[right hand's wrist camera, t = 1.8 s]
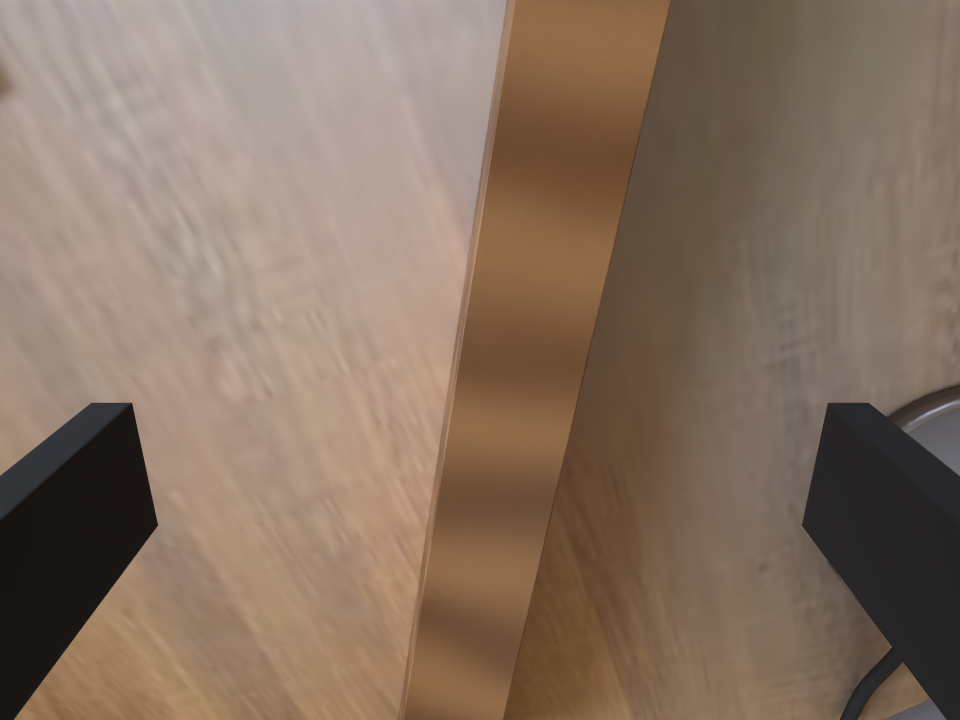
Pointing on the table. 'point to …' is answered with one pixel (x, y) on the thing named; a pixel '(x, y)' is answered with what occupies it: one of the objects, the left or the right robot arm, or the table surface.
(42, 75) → the table surface
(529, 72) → the post
